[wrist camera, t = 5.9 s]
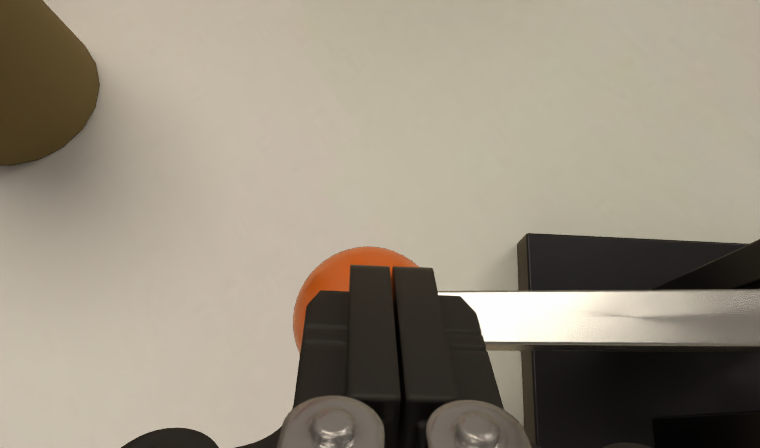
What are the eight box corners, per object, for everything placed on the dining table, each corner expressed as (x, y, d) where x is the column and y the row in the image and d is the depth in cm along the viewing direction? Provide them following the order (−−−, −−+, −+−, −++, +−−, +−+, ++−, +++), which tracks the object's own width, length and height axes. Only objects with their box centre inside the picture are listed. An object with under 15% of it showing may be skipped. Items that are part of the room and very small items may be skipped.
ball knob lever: (309, 400, 15) (267, 390, 12) (317, 268, 16) (279, 228, 13) (1041, 415, 13) (1209, 408, 10) (997, 260, 14) (1139, 210, 11)
